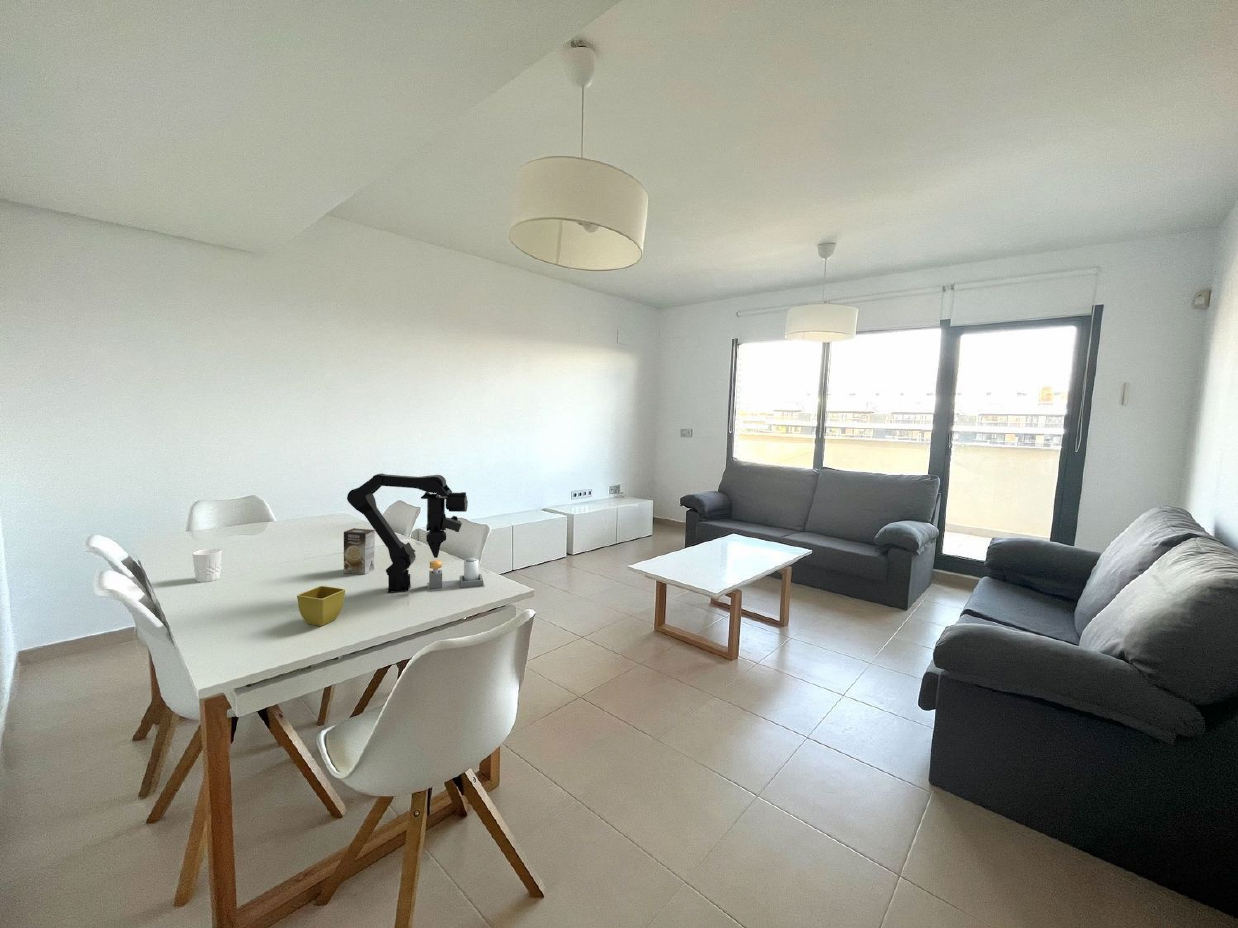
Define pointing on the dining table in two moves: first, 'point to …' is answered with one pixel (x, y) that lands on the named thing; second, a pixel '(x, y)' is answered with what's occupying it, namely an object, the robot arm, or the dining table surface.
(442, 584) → the gray holder stand
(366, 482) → the robot arm
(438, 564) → the yellow rounded piece
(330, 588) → the flower pot
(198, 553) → the white cup
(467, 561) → the cylinder
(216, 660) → the dining table surface
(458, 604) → the dining table surface
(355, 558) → the coffee box
